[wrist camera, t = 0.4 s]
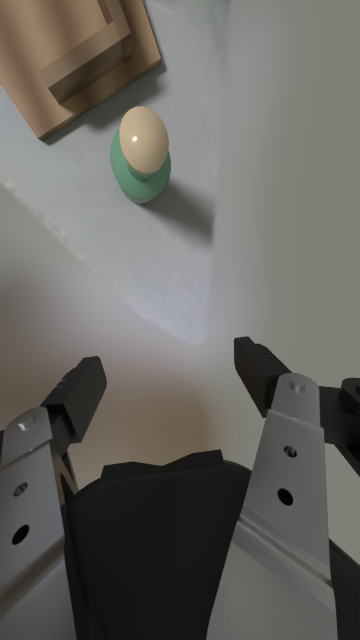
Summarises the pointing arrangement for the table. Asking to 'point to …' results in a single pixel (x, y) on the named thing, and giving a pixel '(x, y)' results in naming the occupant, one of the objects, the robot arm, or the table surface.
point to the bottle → (141, 155)
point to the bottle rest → (71, 55)
